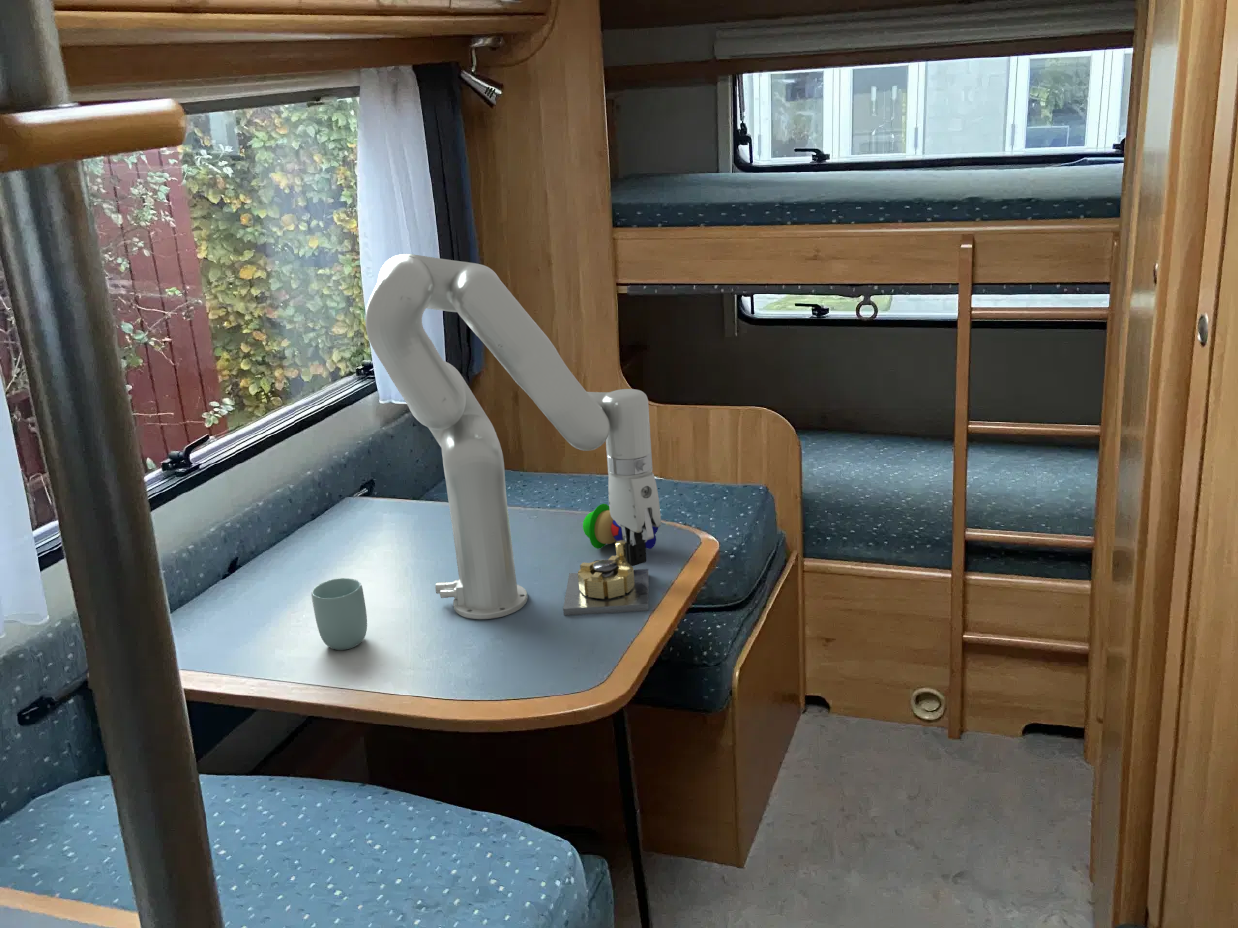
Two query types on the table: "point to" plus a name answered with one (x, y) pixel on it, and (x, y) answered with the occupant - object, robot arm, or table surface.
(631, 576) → the ring nut
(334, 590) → the cup
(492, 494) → the robot arm
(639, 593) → the base plate
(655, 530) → the toy
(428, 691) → the table surface
